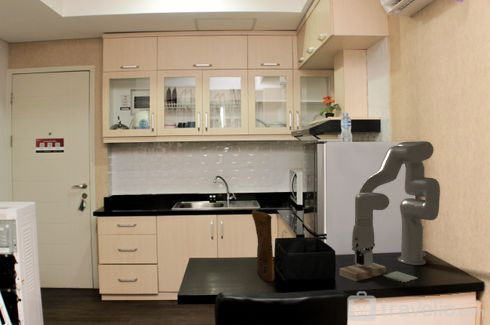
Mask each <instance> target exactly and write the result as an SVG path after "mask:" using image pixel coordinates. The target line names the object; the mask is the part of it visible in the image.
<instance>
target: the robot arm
mask: <svg viewBox="0 0 490 325" xmlns="http://www.w3.org/2000/svg"><path fill="white" fill-rule="evenodd" d="M433 154H434V146H433V144H432V143H431V142H430V141H428V140H427V141H426V140H425V141H423V140H422V141H419V140H418V141H402V142H399V143H398V144H397V145H393V146H390V147H389V148H388V149H387V150H386V153H385V155H384V158H383V160H382V161H381V164H380V165H379V169H378V170H377V172H375V173H374V174H372V175H371V176H370V177H368V178H367V179H366V180H365V181H363V183H362V185H361V187H360V189H359V191H358V194H356V195H355V197H354V198H355V199H354V202H355V203H354V225H353V229H352V235H351V236H352V237H351V247H352V248H351V250H352V251H353V252H354V255H355V254H356V263H357V264H360V265H363V256H362V253H363V249H365V250H369V251H372V252H373V250H374V248H375V246H376V243H375V232H374V230H375V229H374V228H375V227H374V211H384V210H386V209H387V208H388V207H389V205H390V199H389V197H388V195H386V194H385V193H380V192H374V190H375V189H377V188H379V187H380V186H383V185H386V184H389V183H391V182H393V181H395V180H397V177H398V174H399V173H400V170H401V169H402V168H401V167H402V166H403V164H404V165H405V175H404V177H405V178H404V191H405V193H406V194H407V195H409V196H414V197H422V198H424V199H422V198H411V197H407V198H404V199H403V200H401V202H400V204H399V210H400V216H401V245H400V246H401V250H400V252H401V253H400V254H401V255H400V256H398V257H397V261H398V262H400V263H402V264H406V265H413V266H422V265H426V263H427V261H426V259H424V257H425V256H426V255H427V253H426V252H425V251H423V241H424V240H423V239H424V238H423V237H424V236H423V233H424V232H423V231H424V226H423V223H422V222H421V220H425V221H434V220H436V219H437V218H438V217H439V212H440V198H441V185H440V182H439V181H438V180H437V179H436V178H434V177H433V178H432V177H425V165H424V163H423V162H424V161H427V160H429V159H430V158H432V156H433ZM359 250H360V252H359ZM356 263H355V264H356Z"/></svg>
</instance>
